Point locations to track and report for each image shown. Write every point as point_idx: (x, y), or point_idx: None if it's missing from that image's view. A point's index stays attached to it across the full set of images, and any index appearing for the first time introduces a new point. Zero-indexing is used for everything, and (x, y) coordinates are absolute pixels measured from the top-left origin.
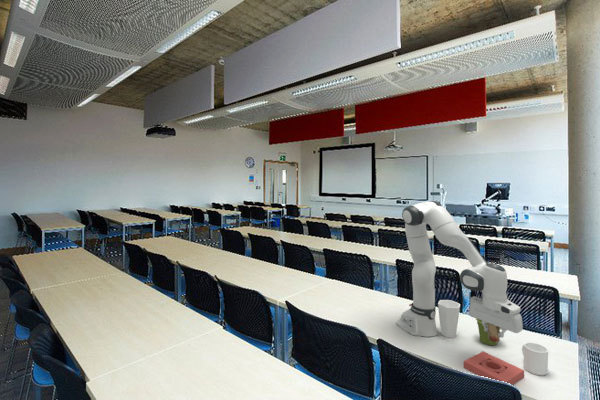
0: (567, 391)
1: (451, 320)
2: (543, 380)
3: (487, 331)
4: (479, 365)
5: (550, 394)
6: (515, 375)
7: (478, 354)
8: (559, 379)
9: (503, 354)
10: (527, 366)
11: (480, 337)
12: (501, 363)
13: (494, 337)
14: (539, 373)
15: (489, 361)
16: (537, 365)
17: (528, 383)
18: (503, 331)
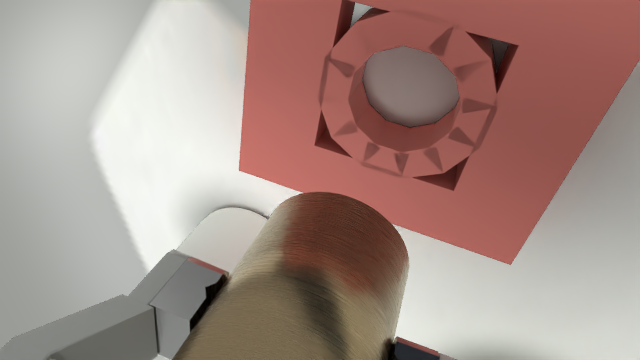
0: (106, 146)
1: None
2: (193, 176)
3: (401, 349)
4: (505, 16)
5: (124, 64)
6: (248, 68)
7: (539, 203)
8: (162, 223)
9: (404, 316)
10: (254, 233)
11: None
12: (362, 170)
13: (276, 237)
14: (212, 213)
15: (439, 147)
16: (195, 239)
17: (223, 98)
18: (38, 336)
